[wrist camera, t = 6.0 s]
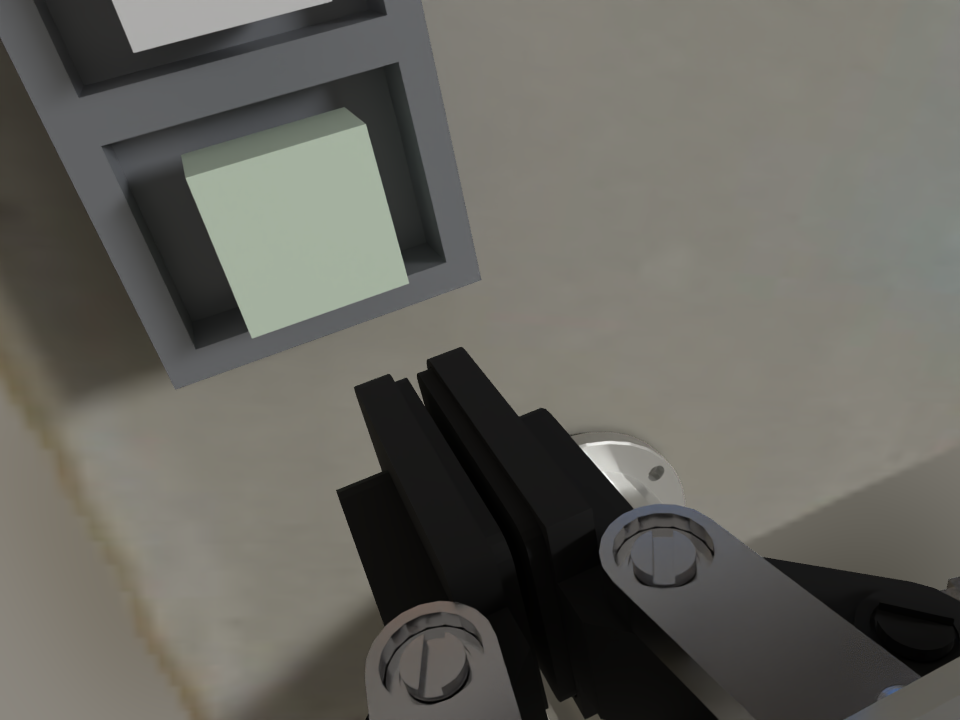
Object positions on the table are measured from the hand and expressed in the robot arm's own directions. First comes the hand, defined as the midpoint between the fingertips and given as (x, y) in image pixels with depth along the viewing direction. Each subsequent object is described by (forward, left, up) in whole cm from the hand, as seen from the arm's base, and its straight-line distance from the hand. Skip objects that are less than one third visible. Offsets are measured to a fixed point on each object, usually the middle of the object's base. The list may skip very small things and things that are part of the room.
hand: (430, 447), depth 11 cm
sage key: (0, 0, -13) cm, 13 cm away
